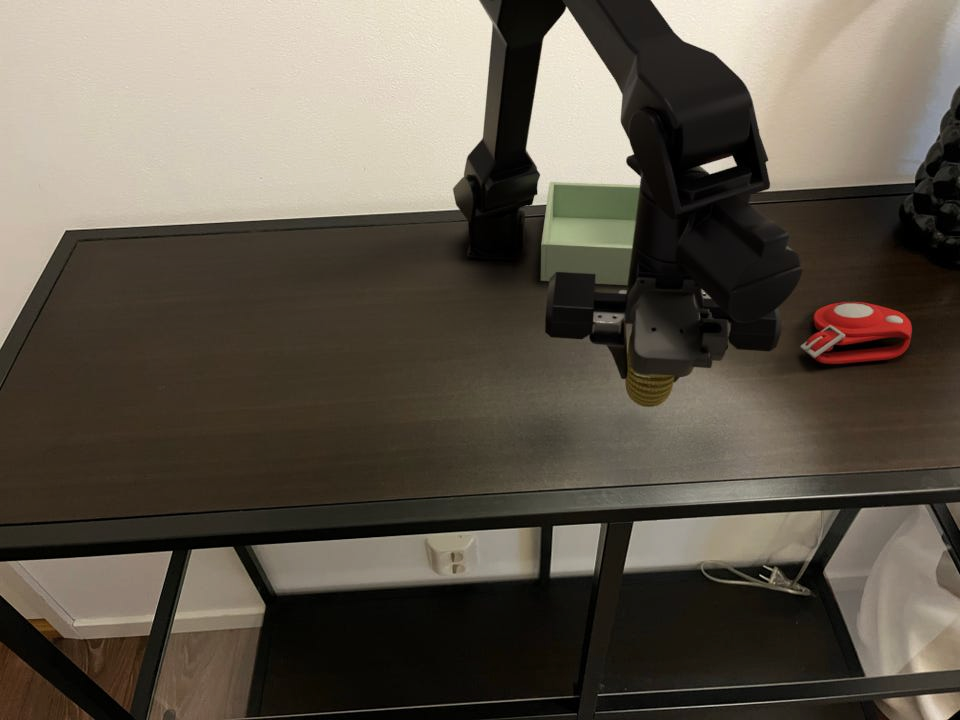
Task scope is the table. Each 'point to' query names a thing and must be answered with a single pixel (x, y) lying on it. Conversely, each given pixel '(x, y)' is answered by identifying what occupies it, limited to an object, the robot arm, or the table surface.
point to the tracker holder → (857, 332)
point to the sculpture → (647, 385)
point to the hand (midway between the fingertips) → (647, 377)
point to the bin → (589, 230)
